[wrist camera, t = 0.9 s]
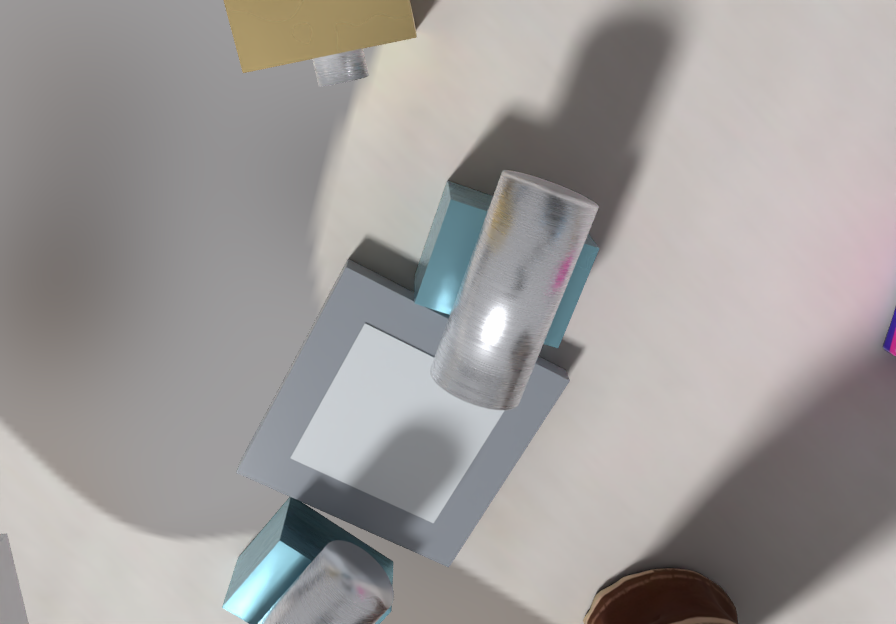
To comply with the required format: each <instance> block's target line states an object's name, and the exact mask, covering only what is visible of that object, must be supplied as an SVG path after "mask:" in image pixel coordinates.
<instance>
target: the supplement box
mask: <svg viewBox="0 0 896 624" xmlns="http://www.w3.org/2000/svg"><path fill="white" fill-rule="evenodd" d="M883 349H884V350H886V351H887V352H889V353H891V354H892V355H894V356H895V357H896V308H895V311H894V315H893V318H892V321H891V324H890V327H889V329H888V332H887V335H886V338H885V342H884V344H883Z"/></svg>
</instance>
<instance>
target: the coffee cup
mask: <svg viewBox="0 0 896 624" xmlns="http://www.w3.org/2000/svg"><path fill="white" fill-rule="evenodd" d="M583 622H584V624H738V620H737V612H736V608H735V606H734V604H733V602H732V601H731V599H730V598H729V597H728V595H727V594H726V593H725V592H724V590H723V589H722V588H721V587H720V586H719V585H717V584H716V583H714V582H713V581H711V580H709V579H708V578H706V577H704V576H703V575H701V574H699V573H697V572H695V571H690V570H684V569H675V568H664V569H652V570H648V571H644V572H641V573H637V574H632V575H628V576H625V577H623V578H621V579H620V580H619V581H617V582H616V583H614V584H613V585H611V586H609V587H607V588H605V589H603V590H601V591H600V592H599V593H598V594H597V595H596V596H595V598H594V600H593V602H592V605H591V608H590V610H589V612H588V613H587V614H586V615H585V617H584V620H583Z"/></svg>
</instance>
